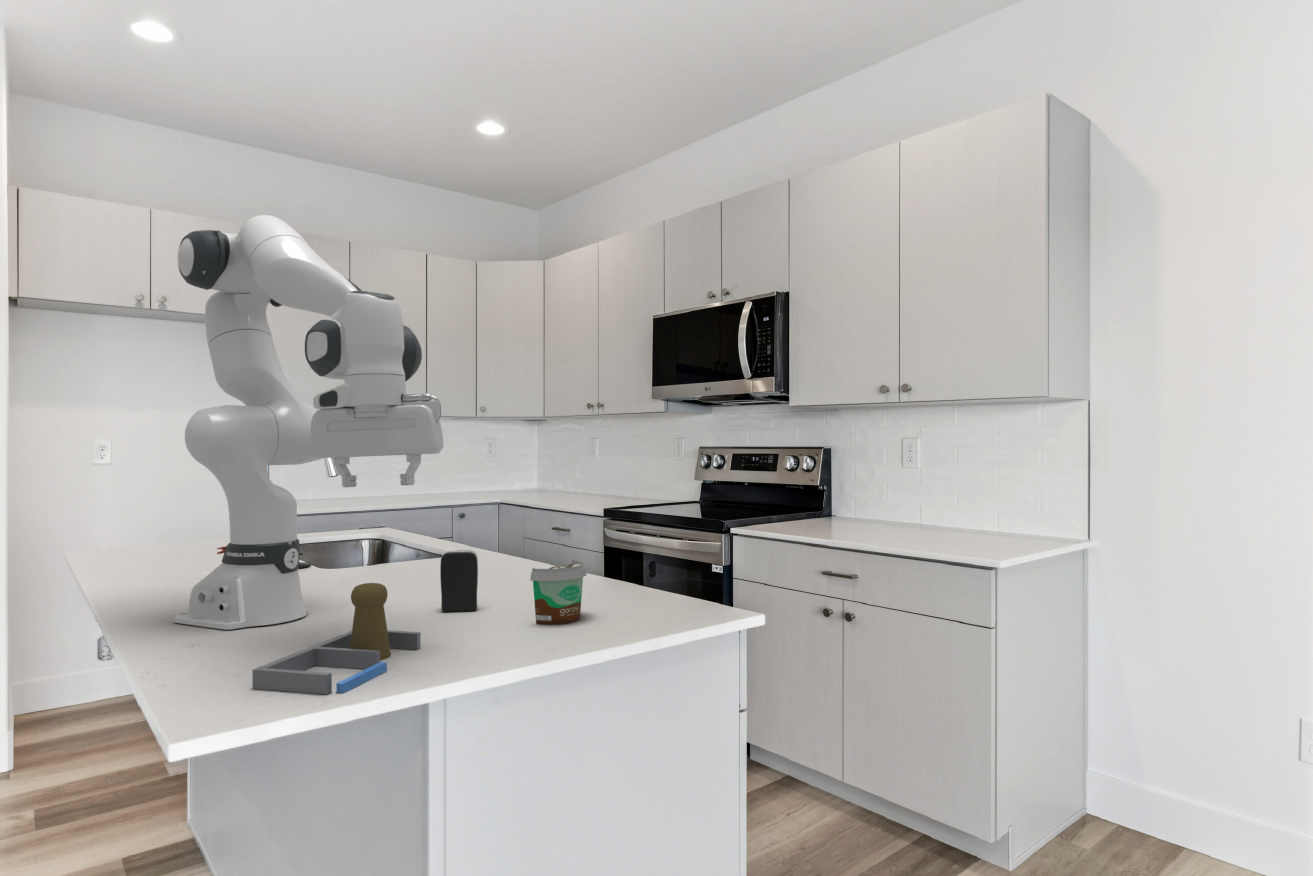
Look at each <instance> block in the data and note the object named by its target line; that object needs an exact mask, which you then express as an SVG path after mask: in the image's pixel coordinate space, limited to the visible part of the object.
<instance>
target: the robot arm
mask: <svg viewBox="0 0 1313 876" xmlns="http://www.w3.org/2000/svg"><path fill="white" fill-rule="evenodd" d="M177 252H178V253H177V264H178V265H177V266H178V270H179V273H180V276H181V278H183V280H184V281H185V283H186V284H189V285H191V286H193V287H195V288H199V289H202V290H207V291H208V290H214V291H216V292H214V293H213V294H212V295H210V297H209V298H208V300H207V301H206V304H205V307H204V308H205V310H204V311H205V312H204V323H205V334H206V341H207V347H208V351H209V356H210V360H211V364H212V368H213V372H214V373H213V374H214V377H215V381H216V383H217V385H218V387H220V389H221V390H222V391H223V392H224V393H226V394H227V395H229V396H231V397H232V398H234V399H237V400H238V401H240V402H241V403H243V404H244V405H236V404H235V405H234V404H233V405H231V404H228V405H227V404H225V405H220V406H219V405H218V406H212V407H208V408H207V407H206V408H201V409H198V410H197V411H196V412H195V413H194V414H193V415H192V416H191V417H190V418H189V420H188V422H187V424H186V426H185V429H184V442H185V443H184V444H185V447H186V449H187V451H188V452H189V454H190V455H191V456H192V458H193V459H194V460H195V461H196V462H198V463H199V464H201V465H202V466H204V467H205V468H206V469H208V471H210V472H211V473H212V474H213V475H214V477H215V478H216V479H217V481H218V482H219V483H220V486H221V487H222V490H223V492H224V494H225V497H226V502H227V506H228V518H229V519H228V520H229V542H228V543H227V545H226V546H220V547H217V548H216V550H220V551H217V552H216V554H217V555H223V556H222V559H221V563H220V564H219V565H218V566H217V567H215V568H214V570H212V571H211V572H210V573H209V574H207V575H206V576H205V577H204V578H203V579H200V581H198V582H197V583H196V584H195V585H194V586H193V588H192V589H191V592H190V595H189V601H188V610H186V611H184V612H180V613H178V614H177V615H175V616H174V617H173V623H176V624H182V625H188V626H189V625H190V626H197V627H202V628H203V627H204V628H211V629H219V630H227V631H228V630H235V629H236V630H237V629H242V628H249V627H250V628H251V627H259V626H270V625H277V624H281V623H287V622H291V621H295V620H298V619H300V618H303V617H305V616H306V615H308V610H307V609H306V606H305V601H304V597H303V593H302V592H303V591H302V588H301V581H300V575H299V565H300V559H301V555H300V554H301V550H300V549H301V548H300V547H301V546H300V539H298V508H297V506H298V503H297V501H296V499H295V496H293V494H292V493H291V492H290V491H288V489H286V488H283V487H282V486H280V485H277V484H275V483H273V481H272V480H271V479H270V476H269V474H268V470H267V467H268V466H291V465H292V466H295V465H297V466H298V465H303V464H307V463H312V462H314V461H315V462H316V461H319V460H322V459H332V458H333V465H334V467H335V469H336V470H337V472H338V474H339V475H340V476H341V487H343V488H356V487H357V475H354V474H353V475H352V473H351V471H350V469H349V468H348V465H350V464H351V463H350V459H351V458H355V457H357V458H360V457H385V456H389V457H390V456H406V463H409V465H408V466H407V469H406V471H405V473H400V474H399V478H400V482H399V483H400V485H401V486H414V485H415V483H416V482H415V481H416V480H415V474H416V472H417V471H418V468H419V467H420V465H421V463H422V455H437V454H438V455H439V454H440V453H441V451H442V450H443V449H444V435H443V428H442V422H441V417H442V404H441V401H440V400H439V399H438V398H437V397H435V396H434V395H432V394H431V393H422V394H416V393H415V394H414V393H413V394H411V393H410V394H407V392H406V388H407V387H406V385H407V384H406V382H407V381H409V380H410V379H411V378H412V377H413V376H414V375H415V374H416V373H417V371H418V369H419V368H420V366H421V364H422V360H423V359H422V358H423V352H422V346H421V344H420V341H419V340H418V338H417V335H416V334H415V333H414V332H413V330H412V329H411V328H410V327H409V326H407V325H404V322H403V314H402V310H401V307H400V304H399V301H398V299H397V298H396V297H394V296H393V295H391V294H388V293H382V292H381V293H379V292H375V291H366V290H362V289H361V288H360V287H359V286H358V285H356V284H355V283H354V282H352V281H351V280H350V279H348V277H346V276H344V275H343V274H341V273H340V272H339V271H338V270H336V269H335V268H334V267H332V266H331V264H329V263H327V262H326V261H325V260H324V259H323V258H322V257H321V256H320V255H318V254H317V252H316V251H314V250H313V248H312V247H311V246H310V245H309V244H308V242H307V241H306V240H305V239H304V237H303V236H302V235H301V234H300V233H299V232H298V231H297V230H296V229H294V228H293V227H292V226H291V225H290V224H288V222H285V221H284V220H283V219H281V218H279V217H277V216H274V215H270V214H261V215H255V216H253V217H250V218H249V219H247V220H246V221H245V222H244V223H243V224H242V225H241V227H240V229H239V231H238V234H237V233H230V232H222V231H221V230H212V229H211V230H210V229H205V230H201V229H200V230H194V231H190V232H189V233H188V234H186V235H185V236H184V237H183V238H182V239H181V241H180V243H179V247H178V251H177ZM269 303H270V304H271V305H272V307H275V308H278V307H281V306H284V307H288V308H292V309H295V310H296V309H297V310H302V311H307V312H310V313H311V312H312V313H316V314H320V315H324V316H327V317H328V318H326V319H321V320H318V321H317V322H316V323H315V324H314V325H312V326H311V327H310V329H308V331H307V333H306V335H305V339H304V340H305V341H304V355H305V360H306V362H307V364H308V365H309V368H311V370H312V371H313V372H314V373H315V374H316V375H317V376H319V377H323V378H326V379H330V380H331V379H332V380H344V383H342V384H340V385H337V386H336V387H333V388H330V389H327V390H325V391H323V392H320V393H317V394H315V395H314V396H313V398H312V400H313V401H312V402H313V403H312V405H313V406H312V405H310V404H309V403H308V402H307V401H305V400H304V399H303V398H302V397H301V396H300V395H299V393H297V391H296V390H295V389H294V388H293V387H292V385H291V384H290V382H289V380H287V378H286V375H285V374H284V371H283V369H282V365H281V363H280V361H279V358H278V354H277V351H276V347H275V344H274V338H273V335H272V332H271V331H272V330H271V329H270V326H269V325H270V324H269V323H268V319H267V308H268V305H269Z"/></svg>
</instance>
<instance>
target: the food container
mask: <svg viewBox="0 0 1313 876" xmlns="http://www.w3.org/2000/svg"><path fill="white" fill-rule="evenodd" d="M587 575H588V573H587V569H586V566H585V563H584V561H581V560H577V559H571V563H570V564H568V565H564V566H559V565H557V566H551V567H549V568H534V567H532V568H531V573H530V579H529V580H530V581H532V589H533V600H534V612H535V624H536V625H540V626H541V625H544V626H546V625H547V626H560V625H568V624H574V623H575V622H578V621H580V619H581V612H582V611H581V609H582V598H583V597H582V595H583V584H584V583H583V581H584V577H586V576H587Z"/></svg>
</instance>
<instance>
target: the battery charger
mask: <svg viewBox="0 0 1313 876" xmlns="http://www.w3.org/2000/svg"><path fill="white" fill-rule="evenodd" d="M439 566H440V567H439V568H440V571H439V578H440V593H441V594H440V595H441V597H440V598H441V599H440V601H441V603H440V604H441V605H440V607H441V608H440V610H441V612H446V613H447V612H448V613H452V612H453V613H454V612H457V613H459V612H460V613H461V612H471V611H472V612H474V611H477V610H478V608H479V607H478V588H479V586H478V585H479V584H478V583H479V558H478V555H477V553H476V551H473V550H466V549H464V550H462V549H461V550H449V551H446V552H445V553H443V554H442V556H441V558H440V565H439Z"/></svg>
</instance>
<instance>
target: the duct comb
mask: <svg viewBox="0 0 1313 876" xmlns="http://www.w3.org/2000/svg"><path fill="white" fill-rule="evenodd" d="M387 632H388V639H389V645H390V649H399V650H414V651H417V650H420V649H421V631H404V630H388V629H387ZM351 635H352V630H350V631H347V632H344V633H343V634H340V635H338V636H335V637H332V638H330V639H327V640H325V641H321V642H320V643H316V644H314V645H312V646H309V647H307V648H305V649H302V650H301V649H300V651H297V652H294V653H291V654H289V655H287V656H284V657H282V658H279V659H275V660H274V661H271V662H268V663H267V664H263V665H260V666H258V667H256V668H253V669H251V671H252V672H251V673H252V689H253V690H263V691H264V690H267V691H275V692H276V691H278V692H290V693H291V692H292V693H301V694H302V693H303V694H312V695H313V694H315V695H328V694H332V692H333V690H332V689H333V688H332V687H333V686H332V683H333V682H332V680H333V679H332V678H333V677H332V676H333V675H332V672H325V671H323V672H322V671H312V670H311V671H310V670H308V669H311V668H313V667H329V668H339V669H340V668H343V669H353V670H354V669H358V670H361V671H358V672H356V673H355V674H353V675H351V676H349V677H347V678H344V679H342V680H339V681H338V682H336V685H335V686H336V692H335V693H338V694H344V693H346V692H348V691H350V690H352V689H354V688H356V687H357V686H360V685H362V684H364V683H366V682H368V681H369V680H372V679H374V678H375V677H379V675H381V674H383V673H386V672H387V671H388V662H386V661H385V662H384V661H381V660H380V651H378V650H362V649H350V642H351Z"/></svg>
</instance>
